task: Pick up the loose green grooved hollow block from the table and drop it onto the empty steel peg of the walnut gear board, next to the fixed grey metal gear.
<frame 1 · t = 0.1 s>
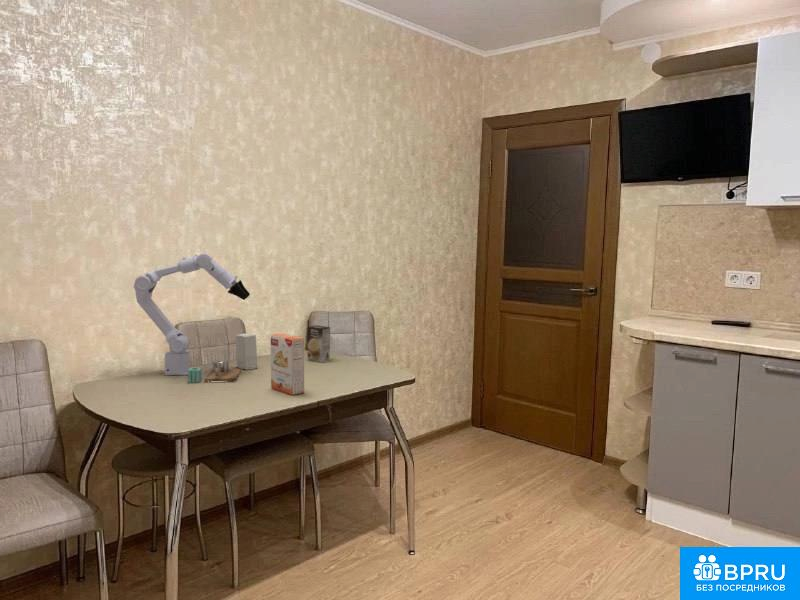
hand: (247, 297, 261), 32 cm above the table, tool tilted 50°, fingers open, 7 cm apart
skincare box: (246, 368, 273), on the table
cracker box: (287, 391, 235), on the table
coffee box: (318, 361, 292), on the table
fixed gear: (220, 374, 260), resting on gear board
green grooved hollow block: (195, 381, 248), on the table
gear board: (223, 377, 256), on the table
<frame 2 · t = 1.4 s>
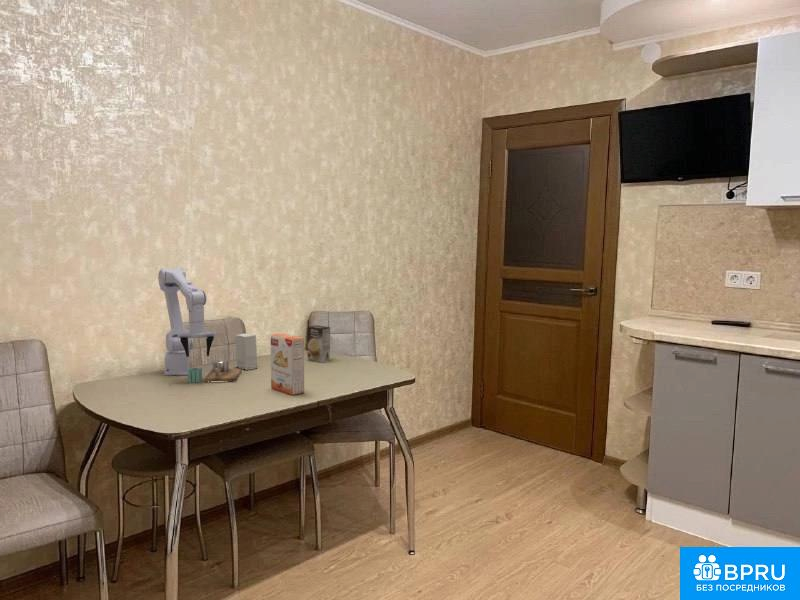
hand: (197, 356, 246), 10 cm above the table, tool pointing down, fingers open, 7 cm apart
nothing on the table moved.
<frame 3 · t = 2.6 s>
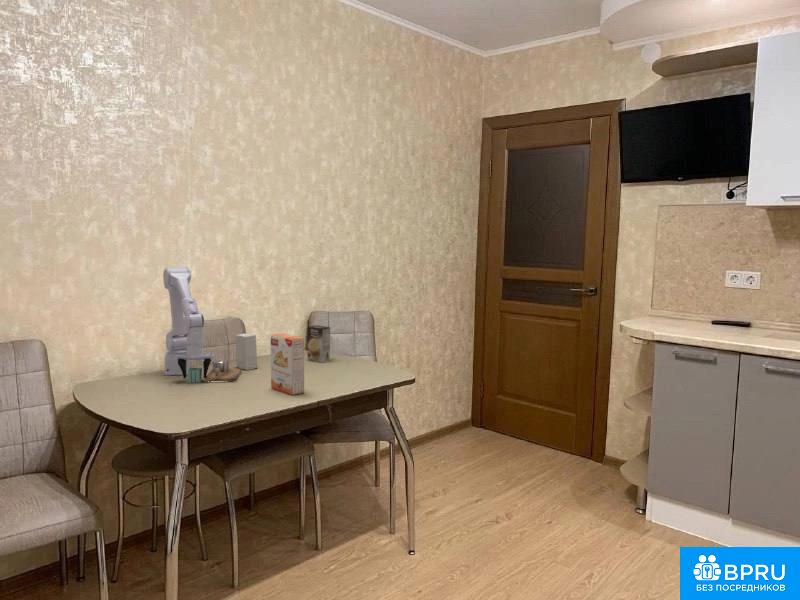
hand: (195, 377, 247), 1 cm above the table, tool pointing down, fingers open, 7 cm apart
nothing on the table moved.
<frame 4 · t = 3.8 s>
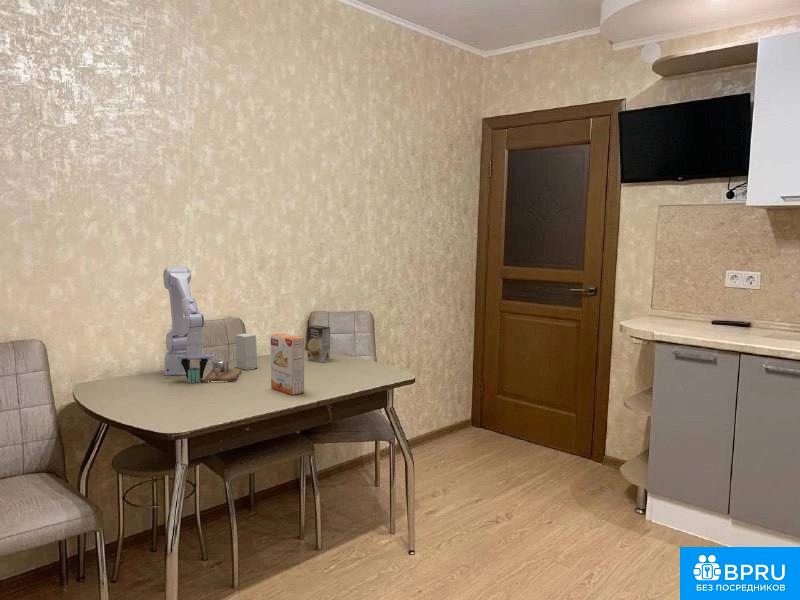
hand: (195, 377, 247), 1 cm above the table, tool pointing down, fingers closed on green grooved hollow block, 4 cm apart
green grooved hollow block: (195, 381, 248), on the table, touching gripper
everything else where it was.
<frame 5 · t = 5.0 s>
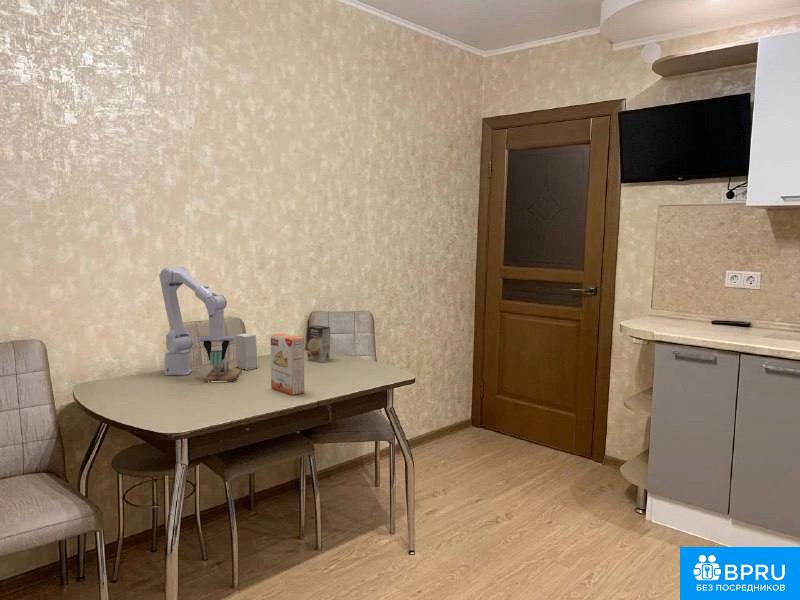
hand: (216, 359, 251), 8 cm above the table, tool pointing down, fingers closed on green grooved hollow block, 4 cm apart
green grooved hollow block: (216, 363, 251), point 6 cm above the table, touching gripper
everything else where it was.
when the fingers open (4 cm above the table, at t = 6.6 s): green grooved hollow block drops 1 cm, resting on gear board.
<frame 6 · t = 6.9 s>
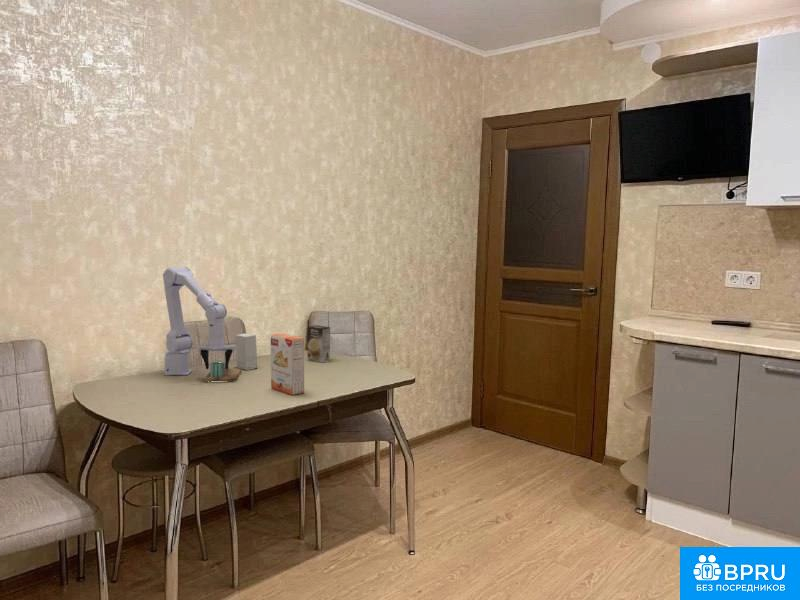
hand: (216, 368, 251), 4 cm above the table, tool pointing down, fingers open, 7 cm apart
green grooved hollow block: (217, 375, 251), point 1 cm above the table, touching gear board
everything else where it was.
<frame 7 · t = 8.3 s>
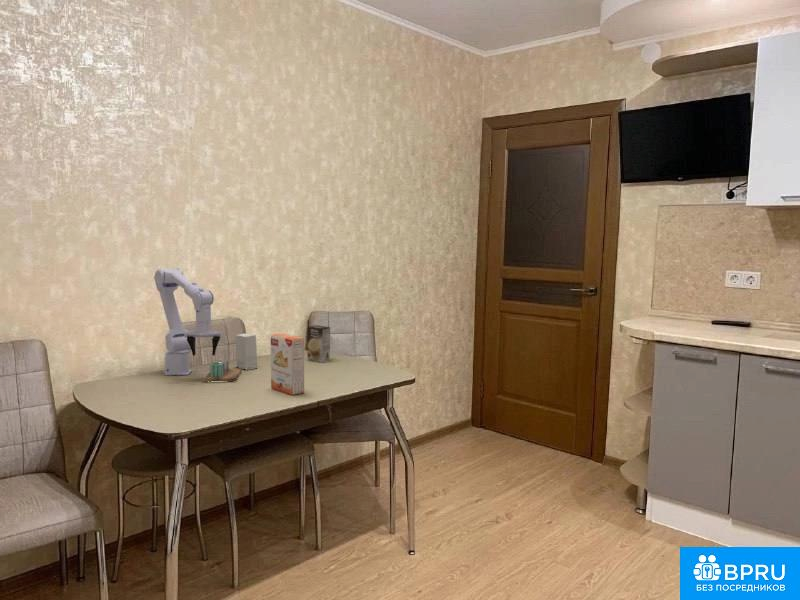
hand: (203, 355, 250), 10 cm above the table, tool pointing down, fingers open, 7 cm apart
nothing on the table moved.
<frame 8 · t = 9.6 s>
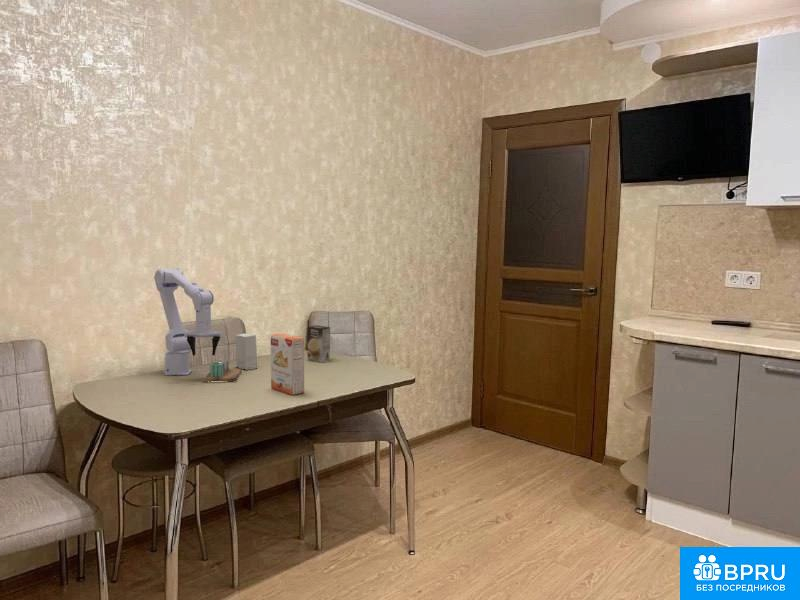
hand: (203, 355, 250), 10 cm above the table, tool pointing down, fingers open, 7 cm apart
nothing on the table moved.
at the end: green grooved hollow block 0.1 cm from the target spot on the gear board, point 1.5 cm above the gear board's base; green grooved hollow block tilted 0°; the gripper is holding nothing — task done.
